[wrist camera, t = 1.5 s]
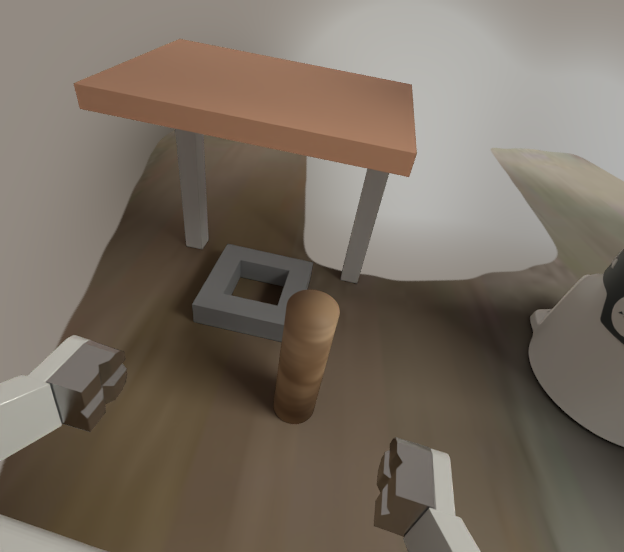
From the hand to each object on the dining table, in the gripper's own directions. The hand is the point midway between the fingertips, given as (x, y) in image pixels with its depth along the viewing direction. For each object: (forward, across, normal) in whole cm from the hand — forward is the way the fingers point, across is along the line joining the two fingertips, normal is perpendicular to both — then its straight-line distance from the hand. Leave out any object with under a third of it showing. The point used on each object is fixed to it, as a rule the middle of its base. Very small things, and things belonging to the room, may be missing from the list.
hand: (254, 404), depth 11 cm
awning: (+25, +6, +18) cm, 31 cm away
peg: (+14, -1, +19) cm, 23 cm away
